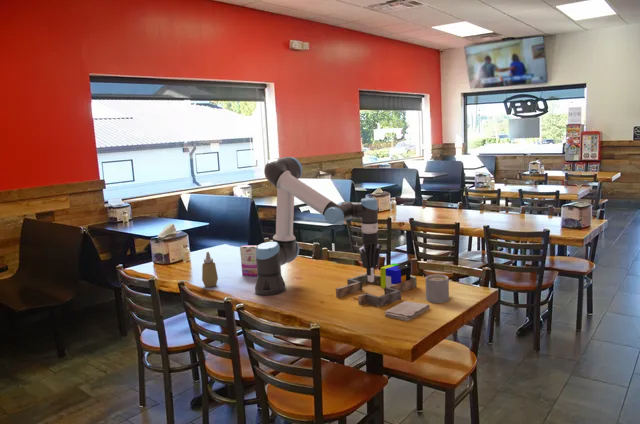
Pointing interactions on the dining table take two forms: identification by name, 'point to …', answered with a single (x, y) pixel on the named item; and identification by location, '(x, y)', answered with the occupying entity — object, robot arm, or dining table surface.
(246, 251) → the candy bar box
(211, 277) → the squeeze bottle
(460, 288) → the dining table surface
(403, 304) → the washcloth
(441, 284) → the coffee mug
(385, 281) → the puzzle toy
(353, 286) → the trap lane
